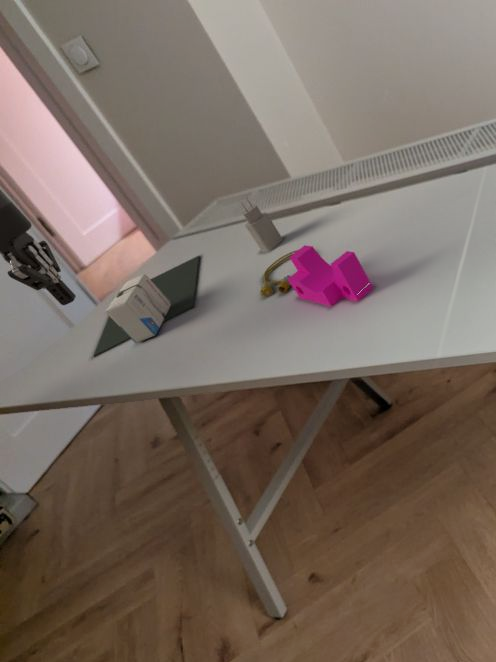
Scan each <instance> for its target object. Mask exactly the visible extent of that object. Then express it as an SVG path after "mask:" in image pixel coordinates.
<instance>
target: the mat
mask: <svg viewBox="0 0 496 662" xmlns="http://www.w3.org/2000/svg"><path fill="white" fill-rule="evenodd" d="M200 258H201V256H200V255H197V256H195V257H193V258H192V259H189V260H187V261H185V262H183V263H181V264H179V265H177V266H175V267H173V268H170V269H169V270H167V271H165V272H162V273H161V274H158V275H157V276H155V277H152V278H149V279H150V280H151V281H152V282H153V283H154V284H155V285H156V287H157V288H158V289H159V290H160V291H161V292H162V293H163V294H164V295H165V296H166V298H167V299H168V300H169V301H170V304H171V307H170V309H169V311H168V313H167V315H166V317H165V318H164V320H163V322H162V324H163V323H166V322H168V321H169V320H172V319H174V318H176V317H177V316H180V315H181V314H184V313H185V312H188V311H189V310H192V309H194V308H195V302H196V293H197V284H198V275H199V267H200ZM130 340H132V339H131V338H130V337H129V336H128V335H127V334H126V333H125V332H124V331H123V330H122V328H121V327H120V326H119V325H118V324H117V323H116V322H115V321H114V320H113V319H112V318H111V317H110V316H109V315H108V317H107V320H106V323H105V326H104V329H103V330H102V334H101V336H100V338H99V341H98V343H97V345H96V348H95V350H94V353H93V357H94V358H95V357H98V356H100V355H102V354H104V353H106V352H108V351H110V350H111V349H114V348H116V347H118V346H120V345H122V344H124V343H126V342H128V341H130Z"/></svg>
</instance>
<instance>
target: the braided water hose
mask: <svg viewBox="0 0 496 662" xmlns="http://www.w3.org/2000/svg"><path fill="white" fill-rule="evenodd" d="M298 250H299V249H296V250H293V251H290V252H288V253H286V254H284V255H282V256H281V257H279V258H278V259H277V260H275V261H274V262H272V263H271V264H270V265H269V266H268V267H267V268H266V270H264V273H263V276H262V277H263V283H262V284H261V287H260V289H261V290H260V295H261V296H264V297H265V298H267V297H270V296H272V295H274V290H273V288H272V285H279V286H278V288H277V290H278V292H279V293H281V294H285V293H287V292H288V290H289V289H290V288H291V286H292V285H291V284H290V282H289V281H288V278H289V277H291V276H292V275H286V276H284V277H283V278H281V279H280V280H273V281H271V280H268V279H269V276H270V274H271V273H272V272H273V270H274V269H276V268H277V267H278V266H280V265H282V264H283V263H285V262H287V261H289V260H291V259H290V258H289V257H290V256H291V255H292V254H294V253H295V252H296V251H298Z"/></svg>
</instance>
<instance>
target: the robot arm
mask: <svg viewBox="0 0 496 662" xmlns="http://www.w3.org/2000/svg"><path fill="white" fill-rule="evenodd" d="M32 226H33V225H32V222H31V221H30V220H29V219H28V218H27V217H26V216H25V214H24V213H22V210H20V209H19V208H18V207H17V206H16V204H15V203H13V201H12V200H11V199H10V198H9V197H8V196H7V195H6V193H5V192H4V191H3V190H2V189H1V188H0V255H1V257H2V258H3V259H4V261H5V262H7V264H9V265H10V266H11V269H10V270H8V271H7V272H6V273H7V275H8V277H9V278H11V279H13V280H14V281H17V282H19V283H21V284H23V285H25V286H27V287H29V288H31V289H33V290H35V291H40V290H46V291H47V292H48V293H49V294H50V295H51V296H52V297H53V298H54V299H55V300H56V301H57V302H58V303H59V304H60V305H62V306H66V305H69V304H70V303H73V302H74V301H75V299H76V296H77V295H76V294H75V293H74V292H73V291H72V290H71V288H70V287H68V285H67V284H66V283H65V282H64V281H63V280H62V276H61V274H60V272H62V271H61V270H62V269H61V268H60V265H59V263H58V261H57V260H56V258H55V255H54V254H53V252H52V250H51V248H50V246H49V244H48V243H47V241H45V240H41V241H39V242H38V241H37V240H35V239H34V237H33V236H32V235H31V234H29V233H27V232H28V231H29V230H31V228H32Z"/></svg>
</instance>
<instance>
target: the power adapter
mask: <svg viewBox="0 0 496 662" xmlns="http://www.w3.org/2000/svg"><path fill="white" fill-rule="evenodd" d="M245 199H246V201H247V203H248V204H249V206H250V207H248V208H246V206H245V204H244V203H243V201H240V204H241V205H242V207H243V210H245V211H244V212H242V216H243V217H244V218H245V220H246V221H247V223H246V224H245V225H244V227H245V229H246V230H247V231H248V233H249V234H250V236H251V237H252V239H253V240H254V242H255V244H256V245H257V246H258V248H259V250H261V252H262V253H269V252H272V251H273V250H274V249H275V248H276V247H277V246H278V245H279V244H280V243H281V242H282V241H283V240H284V239H283V237H282V236H281V233H280V232H279V230H278V229H277V227H276V225H275V224H274V222H273V221H272V219H271V218H270V216H269V214H268V212H262V211H261V209H260V208H259V206H258V205H257V204H254V205H253V204H252V203H251V202H250V200H249V199H248V197H245Z"/></svg>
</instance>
